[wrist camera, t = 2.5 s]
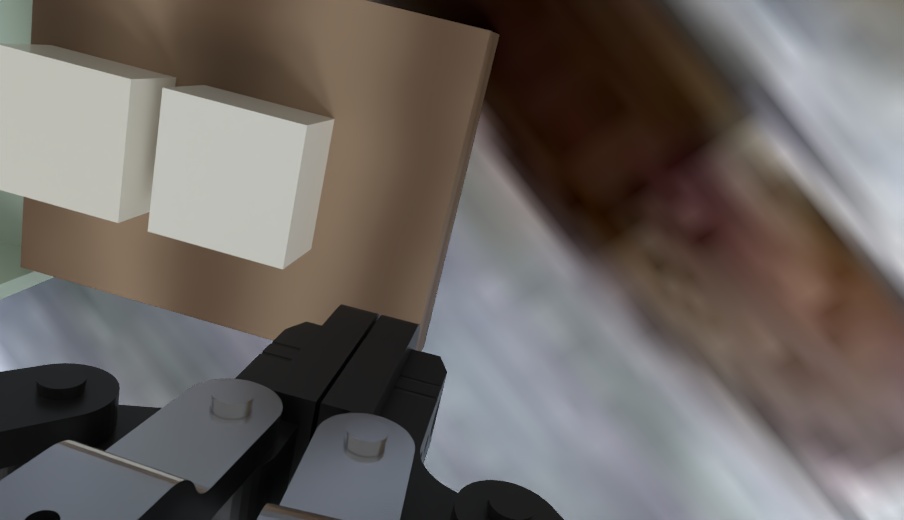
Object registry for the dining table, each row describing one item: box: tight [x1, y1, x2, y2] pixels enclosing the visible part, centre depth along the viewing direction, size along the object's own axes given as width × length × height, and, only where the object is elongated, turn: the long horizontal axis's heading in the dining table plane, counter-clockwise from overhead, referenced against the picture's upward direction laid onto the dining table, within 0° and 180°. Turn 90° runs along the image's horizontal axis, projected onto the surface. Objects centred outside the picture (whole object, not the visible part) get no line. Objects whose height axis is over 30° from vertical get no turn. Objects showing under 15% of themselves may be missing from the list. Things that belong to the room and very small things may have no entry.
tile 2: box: [0, 43, 176, 223], centre depth 23 cm, size 4×4×2 cm
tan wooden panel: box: [20, 0, 499, 351], centre depth 25 cm, size 15×12×3 cm
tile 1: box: [148, 85, 335, 269], centre depth 22 cm, size 4×4×2 cm
